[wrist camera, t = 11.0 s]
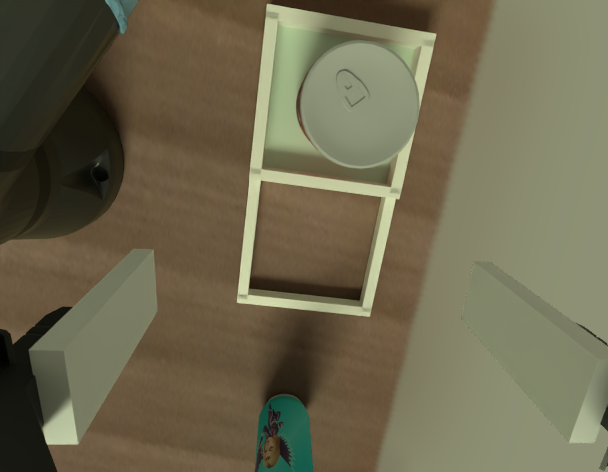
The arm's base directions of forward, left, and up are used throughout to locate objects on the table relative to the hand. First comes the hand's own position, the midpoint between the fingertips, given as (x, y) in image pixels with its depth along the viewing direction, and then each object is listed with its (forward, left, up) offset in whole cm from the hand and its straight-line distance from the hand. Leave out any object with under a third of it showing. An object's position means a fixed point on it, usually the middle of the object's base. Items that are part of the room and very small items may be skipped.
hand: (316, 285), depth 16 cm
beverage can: (+22, -15, -23) cm, 35 cm away
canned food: (-4, +7, -22) cm, 24 cm away
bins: (+1, +3, -23) cm, 23 cm away
